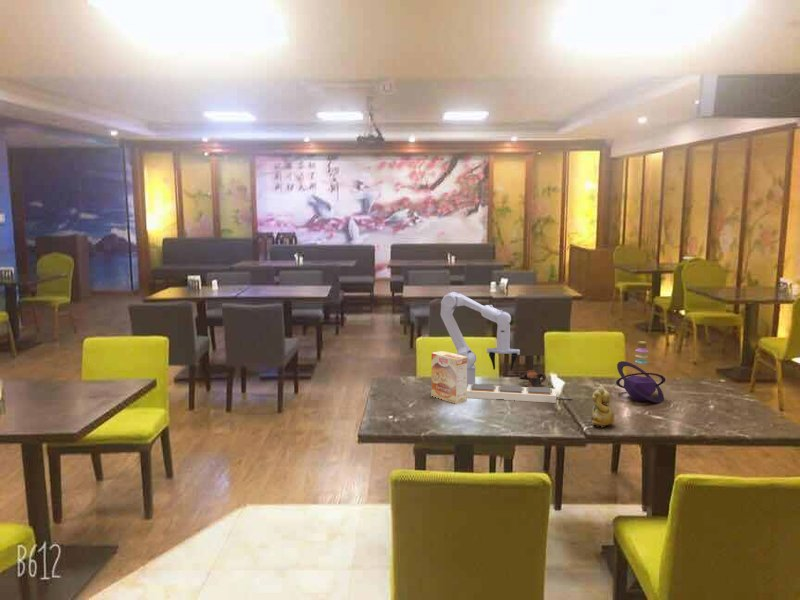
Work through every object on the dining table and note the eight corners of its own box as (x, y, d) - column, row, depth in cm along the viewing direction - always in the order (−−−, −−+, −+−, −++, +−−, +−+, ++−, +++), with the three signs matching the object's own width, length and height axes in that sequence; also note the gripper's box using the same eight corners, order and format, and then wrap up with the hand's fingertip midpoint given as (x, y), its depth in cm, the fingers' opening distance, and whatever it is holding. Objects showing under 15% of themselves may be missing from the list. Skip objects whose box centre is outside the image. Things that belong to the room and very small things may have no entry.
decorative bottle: (657, 410, 259) (660, 349, 255) (605, 400, 271) (608, 343, 267) (672, 397, 276) (675, 340, 273) (623, 388, 289) (625, 334, 285)
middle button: (499, 394, 275) (499, 390, 274) (500, 389, 282) (500, 385, 281) (521, 395, 273) (521, 391, 273) (521, 391, 280) (521, 386, 280)
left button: (471, 392, 277) (471, 388, 277) (473, 388, 284) (473, 383, 284) (493, 394, 275) (493, 389, 275) (494, 389, 282) (494, 385, 282)
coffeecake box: (430, 396, 278) (430, 352, 275) (442, 393, 283) (442, 350, 280) (455, 404, 267) (456, 358, 264) (467, 400, 272) (467, 356, 269)
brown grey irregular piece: (521, 389, 290) (517, 371, 293) (523, 393, 299) (519, 376, 302) (548, 383, 288) (543, 366, 291) (548, 387, 297) (544, 370, 300)
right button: (528, 395, 272) (528, 391, 272) (528, 391, 279) (528, 386, 279) (550, 397, 270) (550, 392, 270) (549, 392, 277) (550, 387, 277)
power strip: (465, 397, 276) (466, 391, 275) (468, 390, 286) (468, 384, 286) (573, 403, 267) (573, 396, 267) (571, 396, 278) (571, 389, 277)
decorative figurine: (592, 419, 247) (593, 381, 245) (614, 422, 244) (616, 384, 242) (589, 427, 239) (591, 388, 236) (613, 430, 236) (614, 390, 233)
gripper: (486, 340, 282) (485, 370, 284) (519, 342, 279) (519, 372, 281) (487, 337, 289) (487, 366, 291) (520, 338, 286) (519, 368, 288)
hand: (502, 369), depth 287 cm, fingers open, 7 cm apart
